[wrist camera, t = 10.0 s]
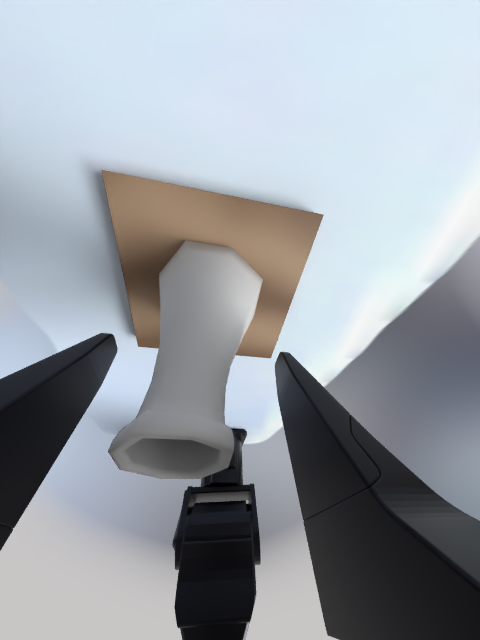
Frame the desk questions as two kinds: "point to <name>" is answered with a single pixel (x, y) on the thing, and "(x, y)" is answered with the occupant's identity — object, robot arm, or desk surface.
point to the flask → (191, 366)
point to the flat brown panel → (210, 228)
